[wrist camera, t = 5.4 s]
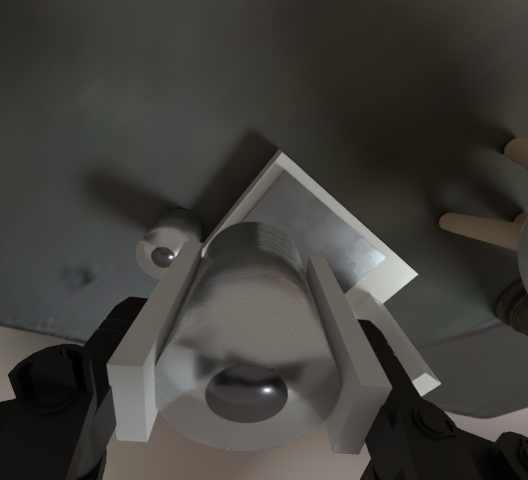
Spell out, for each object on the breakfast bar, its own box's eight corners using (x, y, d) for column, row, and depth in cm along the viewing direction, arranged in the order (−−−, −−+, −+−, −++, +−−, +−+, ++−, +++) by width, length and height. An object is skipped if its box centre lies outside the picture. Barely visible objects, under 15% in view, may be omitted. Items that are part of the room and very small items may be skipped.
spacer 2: (205, 215, 12) (146, 312, 6) (308, 227, 12) (363, 331, 6) (201, 301, 14) (153, 448, 8) (290, 310, 14) (318, 456, 8)
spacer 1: (151, 231, 30) (125, 261, 24) (174, 199, 29) (152, 222, 22) (188, 254, 32) (172, 288, 25) (211, 225, 30) (201, 253, 24)
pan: (212, 255, 28) (211, 258, 27) (284, 169, 25) (285, 170, 24) (309, 319, 33) (310, 323, 32) (382, 254, 29) (385, 257, 28)
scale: (203, 243, 31) (170, 327, 18) (279, 149, 27) (305, 173, 14) (337, 333, 38) (380, 438, 26) (413, 270, 34) (510, 358, 21)
